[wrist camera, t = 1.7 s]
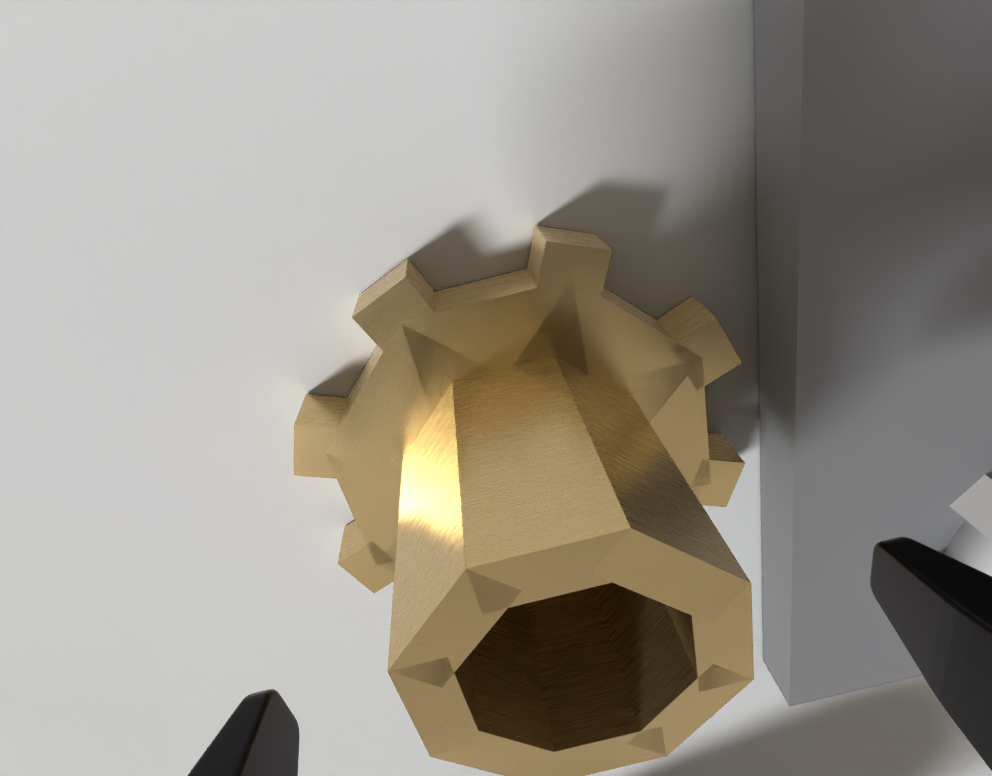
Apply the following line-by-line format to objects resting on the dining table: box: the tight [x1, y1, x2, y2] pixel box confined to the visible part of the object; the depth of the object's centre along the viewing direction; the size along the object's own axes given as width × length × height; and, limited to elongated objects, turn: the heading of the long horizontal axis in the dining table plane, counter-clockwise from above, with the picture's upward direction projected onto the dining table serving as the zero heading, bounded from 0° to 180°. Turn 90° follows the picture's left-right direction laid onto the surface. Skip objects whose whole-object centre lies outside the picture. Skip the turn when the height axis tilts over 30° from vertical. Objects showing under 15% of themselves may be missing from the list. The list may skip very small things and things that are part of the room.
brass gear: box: [294, 225, 754, 776], centre depth 11 cm, size 9×9×6 cm
